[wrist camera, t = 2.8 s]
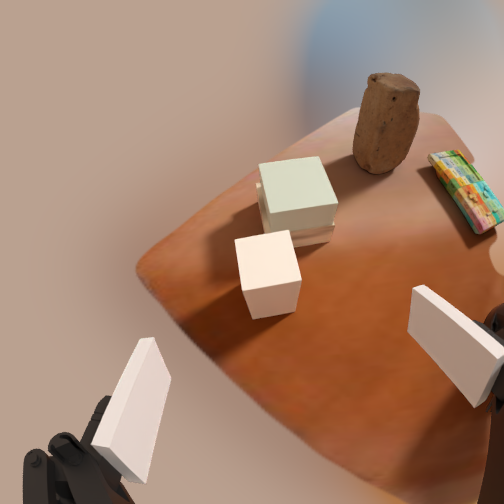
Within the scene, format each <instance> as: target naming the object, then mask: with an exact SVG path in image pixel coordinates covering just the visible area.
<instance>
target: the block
mask: <svg viewBox="0 0 504 504" xmlns="http://www.w3.org/2000/svg"><path fill="white" fill-rule="evenodd" d="M419 95H420V89H419V87H418V86H417V85H416V83H414V82H413V81H411V80H410V79H408V78H406V77H405V76H403V75H401V74H391V73H375V74H371V75H370V76H369V77H368V88H367V89H366V90H365V92H364V96H363V100H362V103H361V108H360V113H359V118H358V123H357V126H356V130H355V135H354V141H353V154H354V156H355V159H356V161H357V162H358V164H359V165H360V166H361V167H362V168H363V169H366V170H367V171H369V172H370V173H373V174H381V173H386V172H388V171H390V170H391V169H393V168H395V167H397V166H398V165H399V164H400V163H401V162H402V161H403V160H404V159H405V158H406V156H407V154H408V152H409V149H410V147H411V144H412V142H413V139H414V137H415V134H416V131H417V128H418V124H419V119H420V118H419V106H418V99H419Z"/></svg>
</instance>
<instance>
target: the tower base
mask: <svg viewBox="0 0 504 504" xmlns="http://www.w3.org/2000/svg"><path fill="white" fill-rule="evenodd" d="M256 190H257V199H258V205H259V210H260V215H261V220H262V225H263V230H264V234H268V233H271V231H270V226H269V221H268V217H267V212H266V208H265V203H264V199H263V194H262V190H261V183H256ZM334 227H335V224H334V221H333V224H331V225H324V226H318V227H312V228H306V229H300V230H294V231H289V232H290V236H291V240H292V244H293V247H294V248H295V247H301V246H306V245H312V244H318V243H324V242H330V240H331V236H332V233H333V230H334Z"/></svg>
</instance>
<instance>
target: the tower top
mask: <svg viewBox="0 0 504 504" xmlns="http://www.w3.org/2000/svg"><path fill="white" fill-rule="evenodd" d="M259 173H260V183H261V190H262V194H263V199H264V203H265V208H266V212H267V217H268V221H269V226H270V231H271V233H273V232H279V231H285V230H289V231H294V230H300V229H306V228H312V227H318V226H324V225H331V224H333V221H334V217H335V214H336V210H337V206H338V201H337V198H336V196H335V193H334V191H333V189H332V186H331V184H330V181H329V179H328V177H327V174H326V172H325V170H324V168H323V165H322V163H321V161H320V159H319V156H317V157H307V158H299V159H291V160H283V161H276V162H269V163H262V164H259Z"/></svg>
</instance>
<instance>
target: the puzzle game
mask: <svg viewBox="0 0 504 504" xmlns="http://www.w3.org/2000/svg"><path fill="white" fill-rule="evenodd" d="M427 158H428V160H429V162H430V163H431V164H432V166H433V167H434V168H435V169H436V175H437V177H438V179H439V180H440V181H441V183H442V184H443V185H444V187H445V188H446V190H447V191H448V192H449V194H450V195H451V197H452V198H453V199H454V201H455V202H456V204H457V205H458V207H459V208H460V210H461V211H462V213H463V214H464V216H465V218H466V219H467V221H468V222H469V224H470V226H471V227H472V229H473V231H474V232H475V234H482V233H484V232H486V231H488V230H490V229H491V228H493V227H495V226H497V225H498V224H500V223H502V222H504V208H503V207H502V205H501V204H500V202H499V201H498V199H497V198H496V196H495V195H494V193H493V192H492V191H491V189H490V188H489V186H488V185H487V184H486V182H485V181H484V180H483V178H482V177H481V176H480V175H479V173H478V172H477V171H476V170H475V168H474V167H473V166H472V165H471V163H470V162H469V161H468V160H467V159H466V157H465V156H464V155H463V154H462V153H461V152H460V151H459V150H452V151H446V152H440V153H434V154H429V155H428V157H427Z"/></svg>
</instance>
